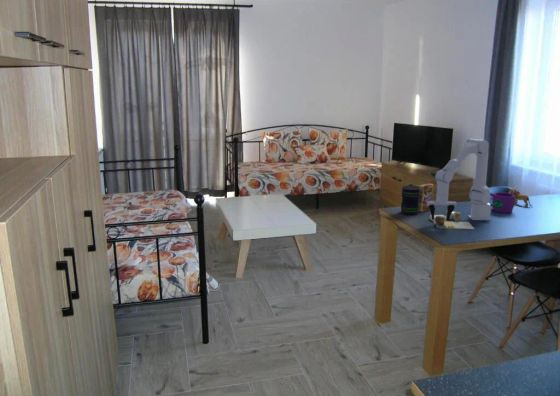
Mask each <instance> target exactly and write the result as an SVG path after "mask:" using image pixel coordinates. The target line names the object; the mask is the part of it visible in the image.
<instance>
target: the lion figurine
mask: <svg viewBox="0 0 560 396" xmlns="http://www.w3.org/2000/svg"><path fill="white" fill-rule="evenodd" d="M508 193H511V194H514V195H515V202H514V205H516V204H518V202H519V201H523V202H524V204H523V205H524V206H525V208H528V207H529V206H530V207H533V205H532V204H531V203H530V198H529V196H528V195H527V194H521V193H520V191H518V190H517V189H515V188H509V191H508ZM518 200H519V201H518Z"/></svg>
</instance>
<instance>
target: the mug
mask: <svg viewBox="0 0 560 396" xmlns="http://www.w3.org/2000/svg"><path fill="white" fill-rule="evenodd" d="M490 195H491V197H492V203H490V205H491V209H492V210H493V211H494V212H495V213H499V214H510V213H512V212H513V210H514V206H515V204H514V202H515V195H514V194H511V193H509V192H501V191H500V192H498V191H497V192H494V193H491V192H490Z"/></svg>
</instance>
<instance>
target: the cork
mask: <svg viewBox="0 0 560 396" xmlns="http://www.w3.org/2000/svg"><path fill="white" fill-rule="evenodd" d="M461 216H462V212H459V211H456V212H455V220H453V222H461V219H462V217H461Z"/></svg>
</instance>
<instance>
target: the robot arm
mask: <svg viewBox="0 0 560 396" xmlns="http://www.w3.org/2000/svg"><path fill="white" fill-rule="evenodd" d="M489 149H490V143H489V142H488V141H487V140H485V139H477V138H472V137H471V138H467V140H466V141H465V142H464V144H463V148H462V149H461V150H460V152H459V153H458V154H457V155H456V157H455V158H454V159H452V158H451V159H450V160H449V161H448V162H447V164H445V166H444V167H443V168H442V169H440V170H437V172H436V174H435V175H434V177H435V182H436V194H435V197H436V199H435V200H432V201H427V206H429V209H430V210H429V211H430V215H431V216H432V219H433V220H434V215H435V213H436V211H435V210H436V206H437V207H438V206H439V207H440V206H441V207H442V206H443V207H447V210H446V211H447V219H446V221H447V220H448V221H450V219H449V218H450V215H451V213H452V212H453V211H455V207H457V201H452V200H451V201H449V190H450V183H451V182H452V181H453V177H454V175H455V173H456V172H457V171H458V170H459V169H460V167H461V163H462V162H463V161H465V160H466V158H467V157H468V156H470V154H472V155H473V154H474V155H476V166H475V175H474V176H475V177H474V184H473V185H472V186H471V187H470V191H469V195H468V196H469V199H470V202H471V208H470V215H469V214H468V215H467V216H468V217H469V219H470V220H471V221H491V213H492V212H491V211H492V206H491V205H490V204H491V203H490V201H491V197H492V196H491V195H490V193H491V188H489V187H488V186H487V175H488V174H487V173H488V162H489Z"/></svg>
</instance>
